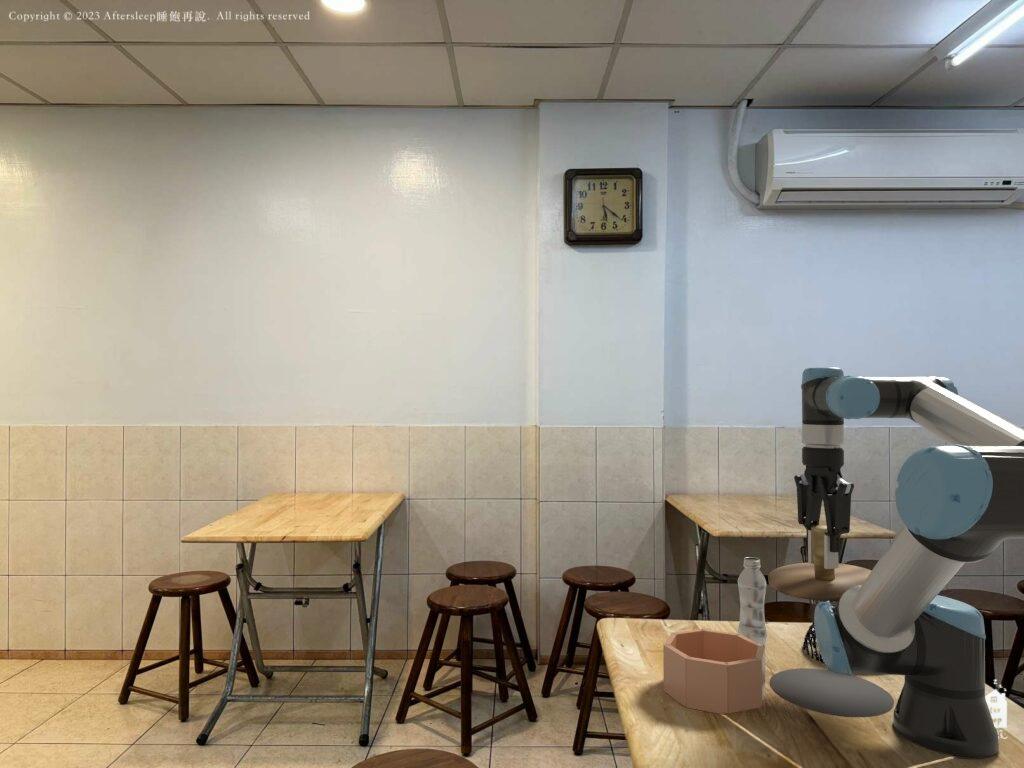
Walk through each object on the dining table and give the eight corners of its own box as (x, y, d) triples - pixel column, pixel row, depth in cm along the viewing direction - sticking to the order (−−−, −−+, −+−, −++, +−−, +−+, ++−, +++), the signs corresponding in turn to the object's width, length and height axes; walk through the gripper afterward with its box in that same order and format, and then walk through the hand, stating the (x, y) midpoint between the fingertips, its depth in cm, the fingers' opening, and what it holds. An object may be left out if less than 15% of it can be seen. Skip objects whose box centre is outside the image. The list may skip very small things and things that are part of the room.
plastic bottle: (769, 643, 161) (769, 557, 161) (764, 652, 155) (763, 563, 155) (741, 638, 164) (740, 554, 164) (734, 647, 158) (734, 560, 158)
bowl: (784, 704, 129) (784, 656, 129) (703, 720, 122) (703, 669, 123) (723, 668, 146) (723, 625, 146) (648, 680, 139) (648, 635, 140)
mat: (922, 708, 127) (921, 705, 127) (829, 727, 120) (829, 725, 120) (829, 664, 148) (829, 662, 148) (745, 678, 140) (745, 676, 140)
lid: (911, 585, 129) (907, 527, 129) (830, 609, 121) (825, 548, 121) (821, 561, 149) (817, 510, 148) (745, 580, 140) (741, 527, 140)
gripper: (872, 449, 128) (872, 574, 128) (807, 442, 144) (807, 554, 144) (839, 450, 126) (840, 578, 125) (778, 443, 142) (778, 557, 141)
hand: (823, 565), depth 135 cm, fingers closed on lid, 4 cm apart
